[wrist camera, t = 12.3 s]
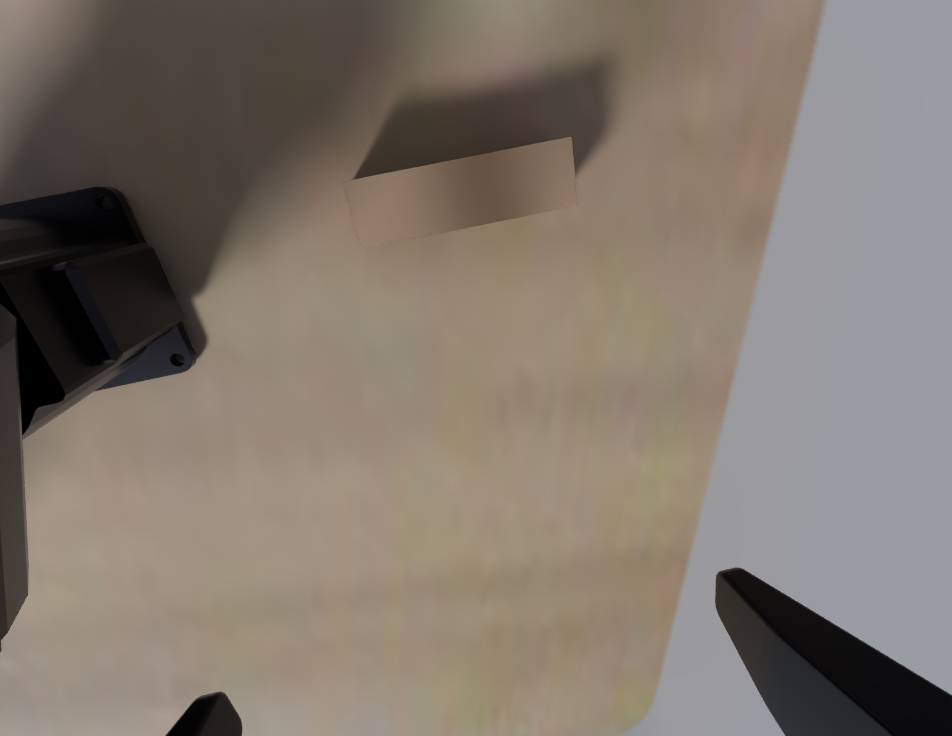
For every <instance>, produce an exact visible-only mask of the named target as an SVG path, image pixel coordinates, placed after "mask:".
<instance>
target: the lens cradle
mask: <svg viewBox="0 0 952 736" xmlns="http://www.w3.org/2000/svg"><path fill="white" fill-rule="evenodd" d="M342 183H343V187H344V190H345V194H346V197H347V201H348V205H349V208H350V212H351V216H352V219H353V223H354V227H355V230H356V234H357V238H358V241H359V245H360V248H361V249H366V248H371V247H375V246H380V245H385V244H390V243H395V242H400V241H405V240H410V239H415V238H419V237H424V236H429V235H434V234H439V233H444V232H449V231H454V230H459V229H464V228H468V227H473V226H478V225H483V224H488V223H493V222H498V221H503V220H508V219H512V218H517V217H522V216H527V215H532V214H537V213H542V212H547V211H552V210H557V209H561V208H566V207H571V206H576V205H578V201H577V190H576V179H575V168H574V157H573V146H572V136H571V137H566V138H561V139H556V140H551V141H546V142H541V143H536V144H531V145H525V146H520V147H515V148H510V149H505V150H500V151H495V152H490V153H485V154H480V155H475V156H470V157H465V158H460V159H455V160H450V161H445V162H440V163H435V164H430V165H424V166H419V167H414V168H409V169H404V170H399V171H394V172H389V173H384V174H379V175H374V176H369V177H364V178H359V179H354V180H349V181H344V182H342Z"/></svg>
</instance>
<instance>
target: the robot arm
mask: <svg viewBox="0 0 952 736" xmlns="http://www.w3.org/2000/svg"><path fill="white" fill-rule="evenodd" d="M104 196H106V197H108V198H109V199H110V200H111V201H112V205H113V207H112V209H111V210H108V209H106V208H105V206H104V205H103V202H102V199H103V197H104ZM182 316H183V314H182V311H181V309H180V307H179V305H178V302H177V300H176V298H175V296H174V293H173V291H172V289H171V287H170V284H169V282H168V280H167V278H166V275H165V273H164V271H163V269H162V266H161V264H160V262H159V260H158V257H157V255H156V253H155V251H154V249H153V248H152V247H151V246H149V245H148V244H146V242H145V240H144V238H143V235H142V233H141V231H140V229H139V227H138V224H137V222H136V220H135V218H134V215H133V213H132V211H131V209H130V207H129V204H128V202H127V200H126V198H125V197H124V195H123V194H122V193H121V192H120V191H118V190H117V189H115V188H112V187H93V188H88V189H83V190H78V191H73V192H68V193H63V194H57V195H52V196H47V197H42V198H37V199H32V200H27V201H21V202H16V203H11V204H6V205H1V206H0V652H1V640H2V639H3V637H4V636H5V635H6V634H7V633H8V631H9V629H10V627H11V625H12V624H13V622H14V620H15V618H16V616H17V614H18V612H19V610H20V609H21V607H22V605H23V603H24V601H25V599H26V597H27V596H28V568H29V563H28V543H27V523H26V503H25V482H24V462H23V442H22V440H23V439H25V438H26V437H28V436H29V435H31V434H32V433H34V432H35V431H37V430H38V429H39V428H41V427H42V426H44V425H45V424H47V423H48V422H50V421H51V420H53V419H54V418H56V417H57V416H58V415H60V414H61V413H63V412H64V411H66V410H67V409H69V408H70V407H72V406H73V405H75V404H76V403H78V402H79V401H80V400H82V399H83V398H85V397H86V396H88V395H89V394H91V393H92V392H94V391H97V390H102V389H107V388H111V387H116V386H121V385H125V384H130V383H135V382H140V381H144V380H149V379H154V378H159V377H163V376H168V375H173V374H177V373H182V372H185V371H187V370H189V369H190V368H191V367H192V366H193V365H194V364H195V363H196V359H197V358H196V353H195V351H194V349H193V347H192V344H191V342H190V340H189V338H188V335H187V333H186V331H185V329H184V327H183V324H182V322H181V319H182ZM175 354H180V355H182V356H183V357H184V360H185V362H179V361H177V359H176V358H175ZM715 603H716V609H717V612H718V615H719V617H720V619H721V621H722V623H723V625H724V626H725V628H726V630H727V632H728V634H729V636H730V638H731V640H732V642H733V643H734V645H735V647H736V649H737V651H738V653H739V655H740V657H741V659H742V660H743V662H744V664H745V666H746V668H747V670H748V672H749V674H750V676H751V678H752V680H753V682H754V683H755V685H756V687H757V689H758V691H759V693H760V695H761V697H762V698H763V700H764V702H765V704H766V705H767V707H768V709H769V710H770V712H771V714H772V715H773V717H774V718H775V720H776V722H777V723H778V725H779V726H780V728H781V729H782V731H783V733H784V734H785V736H952V695H950V694H949V693H947V692H946V691H944V690H942V689H941V688H939V687H937V686H936V685H934V684H932V683H931V682H929V681H927V680H926V679H924V678H923V677H921V676H919V675H917V674H916V673H914V672H912V671H911V670H909V669H908V668H906V667H904V666H903V665H901V664H899V663H897V662H896V661H894V660H893V659H891V658H889V657H888V656H886V655H884V654H883V653H881V652H879V651H878V650H876V649H875V648H873V647H871V646H869V645H868V644H866V643H865V642H863V641H861V640H859V639H858V638H856V637H855V636H853V635H851V634H850V633H848V632H846V631H845V630H843V629H841V628H840V627H838V626H837V625H835V624H833V623H831V622H830V621H828V620H826V619H825V618H823V617H822V616H820V615H818V614H817V613H815V612H813V611H812V610H810V609H808V608H807V607H805V606H803V605H802V604H800V603H799V602H797V601H795V600H794V599H792V598H790V597H788V596H787V595H785V594H784V593H782V592H780V591H779V590H777V589H775V588H774V587H772V586H770V585H769V584H767V583H765V582H764V581H762V580H761V579H759V578H757V577H755V576H754V575H752V574H751V573H749V572H747V571H745V570H744V569H741V568H731V569H727V570H723V571H720V572H718V574H717V575H716V597H715ZM166 736H242V723H241V719H240V717H239V715H238V713H237V712H236V710H235V708H234V707H233V705H232V704H231V702H230V700H229V699H228V697H227V695H226V694H225V693H223V692H216V693H211V694H207V695H203V696H201V697H199V698H197V699H196V700H195V701H194V702H193V703H192V704H191V705H190V706H189V708H188V709H187V710H186V711H185V712H184V714H183V715H182V716H181V717H180V719H179V720H178V721H177V722H176V723H175V725H174V726H173V727H172V728H171V730H170V731H169V732H168V733H167V734H166Z"/></svg>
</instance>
